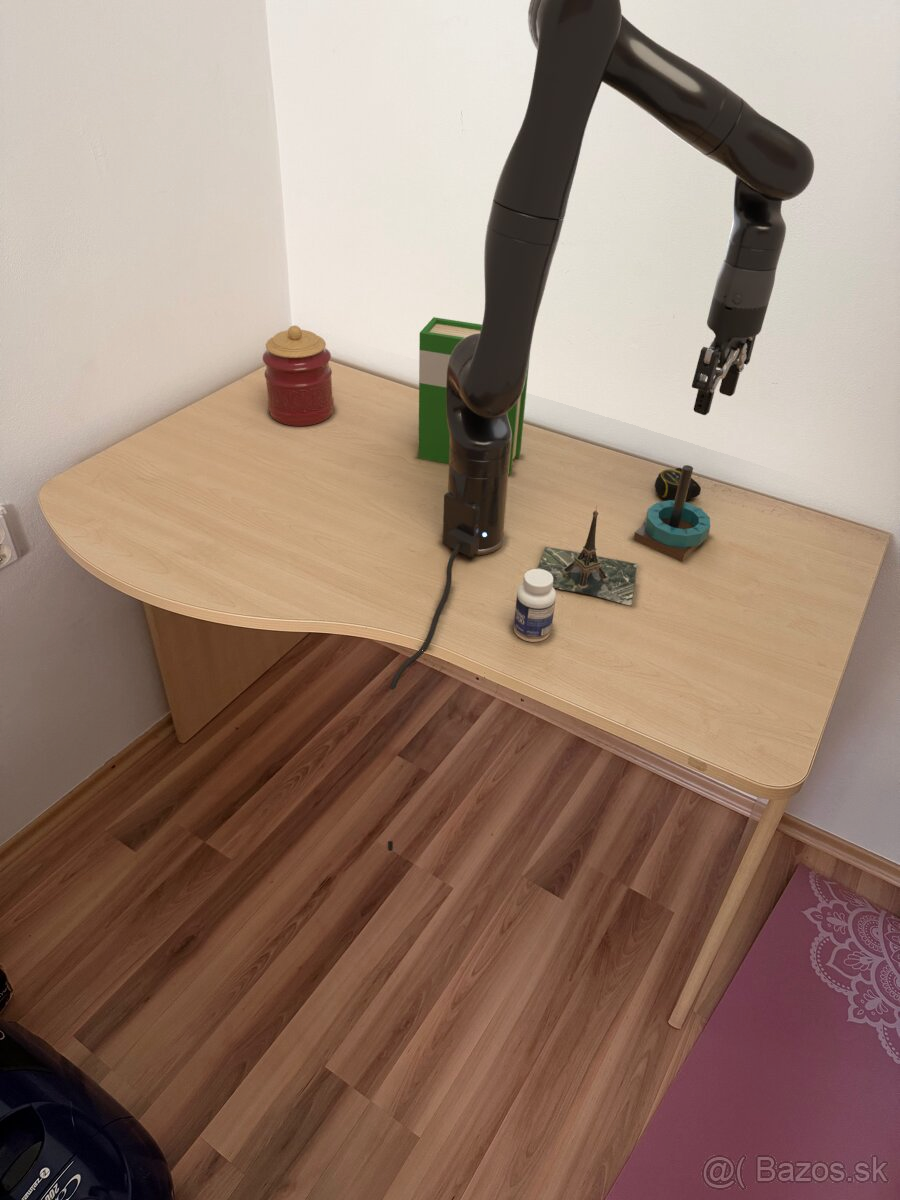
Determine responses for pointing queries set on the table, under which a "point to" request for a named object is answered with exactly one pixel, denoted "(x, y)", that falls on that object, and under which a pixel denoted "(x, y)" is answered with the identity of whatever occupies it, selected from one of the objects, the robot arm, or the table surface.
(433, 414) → the hardback book
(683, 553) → the stand
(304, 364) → the kitchen canister
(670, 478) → the tape measure
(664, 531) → the ring
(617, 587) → the eiffel tower figurine
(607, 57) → the robot arm
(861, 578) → the table surface
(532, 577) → the pill bottle
